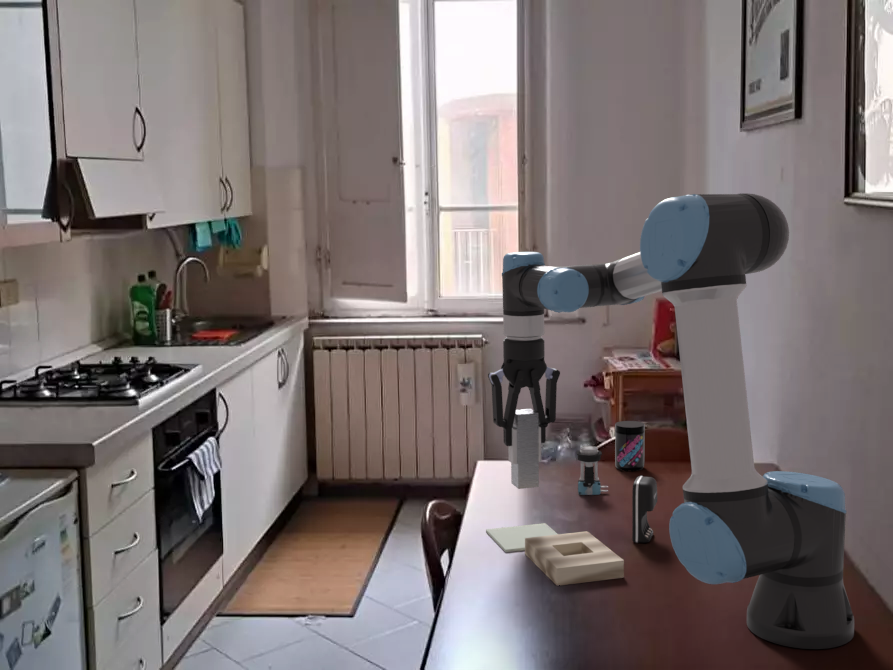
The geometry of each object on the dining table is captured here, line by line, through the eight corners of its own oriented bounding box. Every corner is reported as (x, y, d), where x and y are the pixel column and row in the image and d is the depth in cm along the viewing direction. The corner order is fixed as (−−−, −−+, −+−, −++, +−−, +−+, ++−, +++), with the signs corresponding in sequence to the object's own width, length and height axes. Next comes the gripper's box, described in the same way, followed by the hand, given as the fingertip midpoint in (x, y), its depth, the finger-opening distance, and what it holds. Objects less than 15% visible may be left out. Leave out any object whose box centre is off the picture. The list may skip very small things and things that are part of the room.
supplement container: (609, 469, 248) (609, 425, 247) (623, 462, 254) (623, 419, 252) (636, 473, 244) (636, 428, 243) (649, 466, 250) (649, 423, 248)
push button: (607, 489, 232) (607, 444, 231) (609, 497, 227) (609, 451, 225) (576, 489, 233) (575, 444, 231) (577, 497, 227) (577, 451, 226)
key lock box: (652, 545, 197) (652, 484, 195) (631, 543, 198) (631, 483, 196) (658, 533, 203) (658, 474, 202) (637, 531, 204) (638, 473, 203)
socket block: (623, 577, 181) (623, 560, 181) (557, 585, 178) (556, 568, 178) (587, 547, 196) (587, 531, 196) (525, 554, 193) (524, 538, 193)
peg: (538, 486, 199) (538, 413, 197) (518, 488, 198) (517, 414, 196) (531, 481, 203) (530, 408, 201) (511, 483, 202) (510, 410, 200)
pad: (567, 545, 198) (567, 542, 198) (505, 552, 195) (505, 549, 195) (545, 525, 209) (545, 523, 209) (486, 532, 206) (486, 529, 206)
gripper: (560, 331, 202) (560, 452, 206) (473, 336, 198) (475, 460, 201) (575, 337, 195) (575, 462, 198) (485, 342, 191) (486, 470, 194)
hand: (524, 460), depth 200 cm, fingers closed on peg, 4 cm apart
